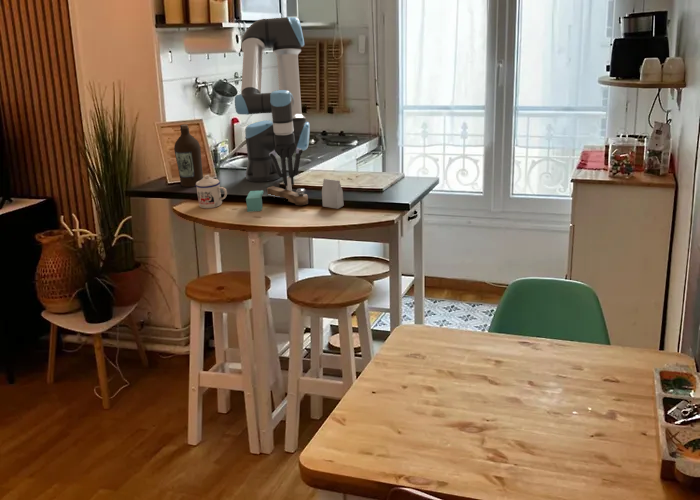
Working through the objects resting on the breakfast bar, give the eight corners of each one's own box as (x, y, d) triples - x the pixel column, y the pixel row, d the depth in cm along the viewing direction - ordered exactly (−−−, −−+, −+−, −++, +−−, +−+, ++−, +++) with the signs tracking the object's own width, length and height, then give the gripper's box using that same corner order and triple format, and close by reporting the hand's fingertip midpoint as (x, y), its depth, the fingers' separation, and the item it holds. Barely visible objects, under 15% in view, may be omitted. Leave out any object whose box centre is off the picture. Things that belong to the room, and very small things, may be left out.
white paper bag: (338, 208, 272) (336, 182, 269) (322, 206, 276) (320, 180, 272) (343, 205, 275) (341, 179, 271) (328, 203, 279) (326, 177, 275)
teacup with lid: (194, 208, 283) (190, 178, 279) (205, 201, 291) (201, 171, 287) (223, 209, 280) (219, 179, 275) (233, 202, 288) (229, 172, 283)
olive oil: (186, 180, 322) (178, 122, 312) (209, 180, 319) (201, 122, 310) (175, 187, 312) (166, 127, 303) (198, 187, 309) (190, 127, 300)
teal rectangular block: (251, 203, 284) (250, 191, 282) (264, 203, 284) (263, 190, 282) (247, 211, 275) (245, 198, 273) (260, 211, 275) (259, 198, 273)
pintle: (296, 193, 280) (296, 188, 279) (305, 193, 280) (305, 188, 279) (295, 196, 277) (295, 191, 276) (305, 196, 277) (304, 190, 276)
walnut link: (310, 203, 279) (310, 195, 278) (300, 206, 276) (300, 198, 275) (275, 193, 294) (274, 185, 293) (265, 196, 291) (265, 188, 290)
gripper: (298, 128, 285) (303, 188, 293) (264, 133, 281) (270, 193, 290) (303, 132, 278) (308, 193, 287) (269, 137, 274) (275, 198, 283)
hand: (289, 193), depth 288 cm, fingers closed
